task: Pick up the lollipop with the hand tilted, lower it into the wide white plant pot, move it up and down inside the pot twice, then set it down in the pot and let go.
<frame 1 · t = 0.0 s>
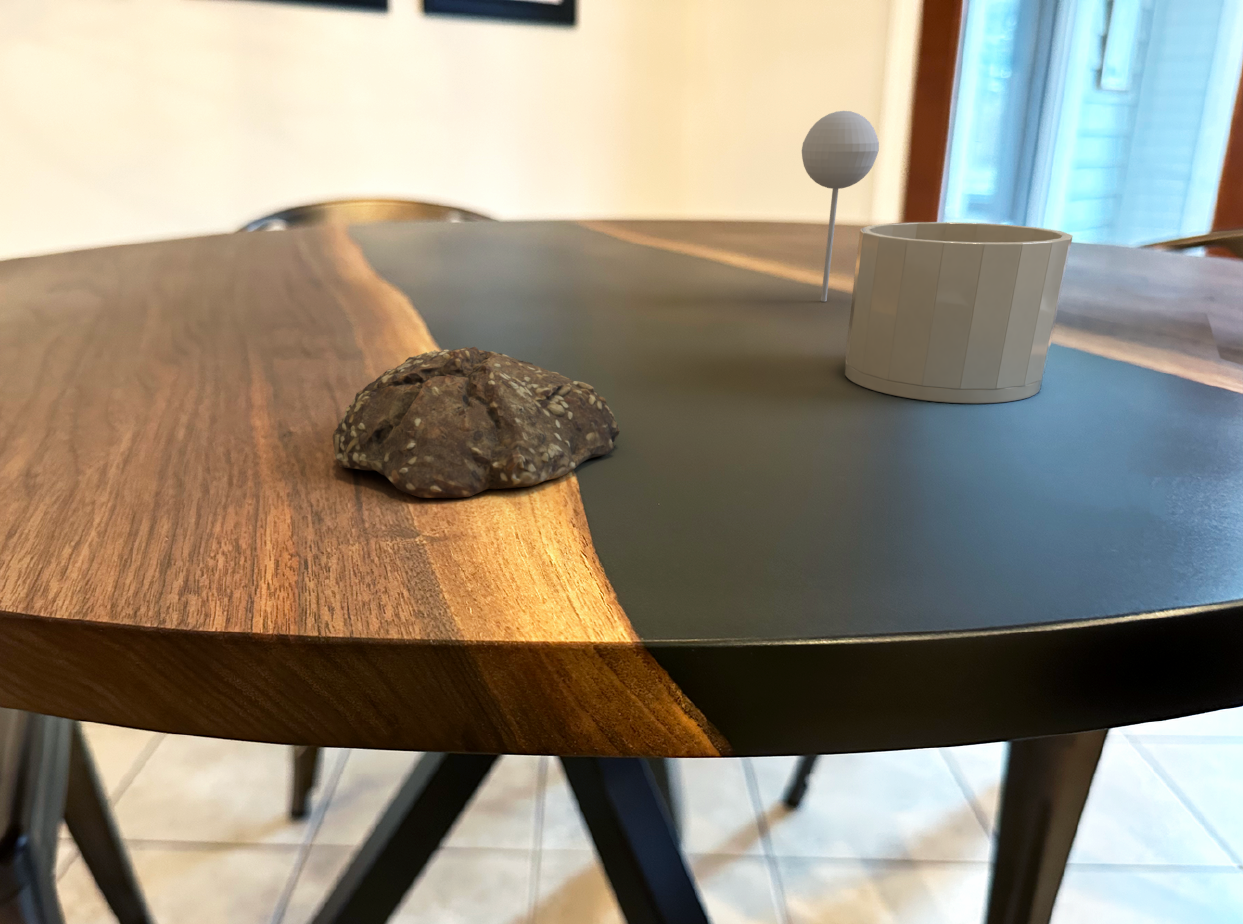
bread roll: (469, 456, 45), on the table
white plant pot: (939, 378, 57), on the table
lollipop: (823, 303, 81), on the table
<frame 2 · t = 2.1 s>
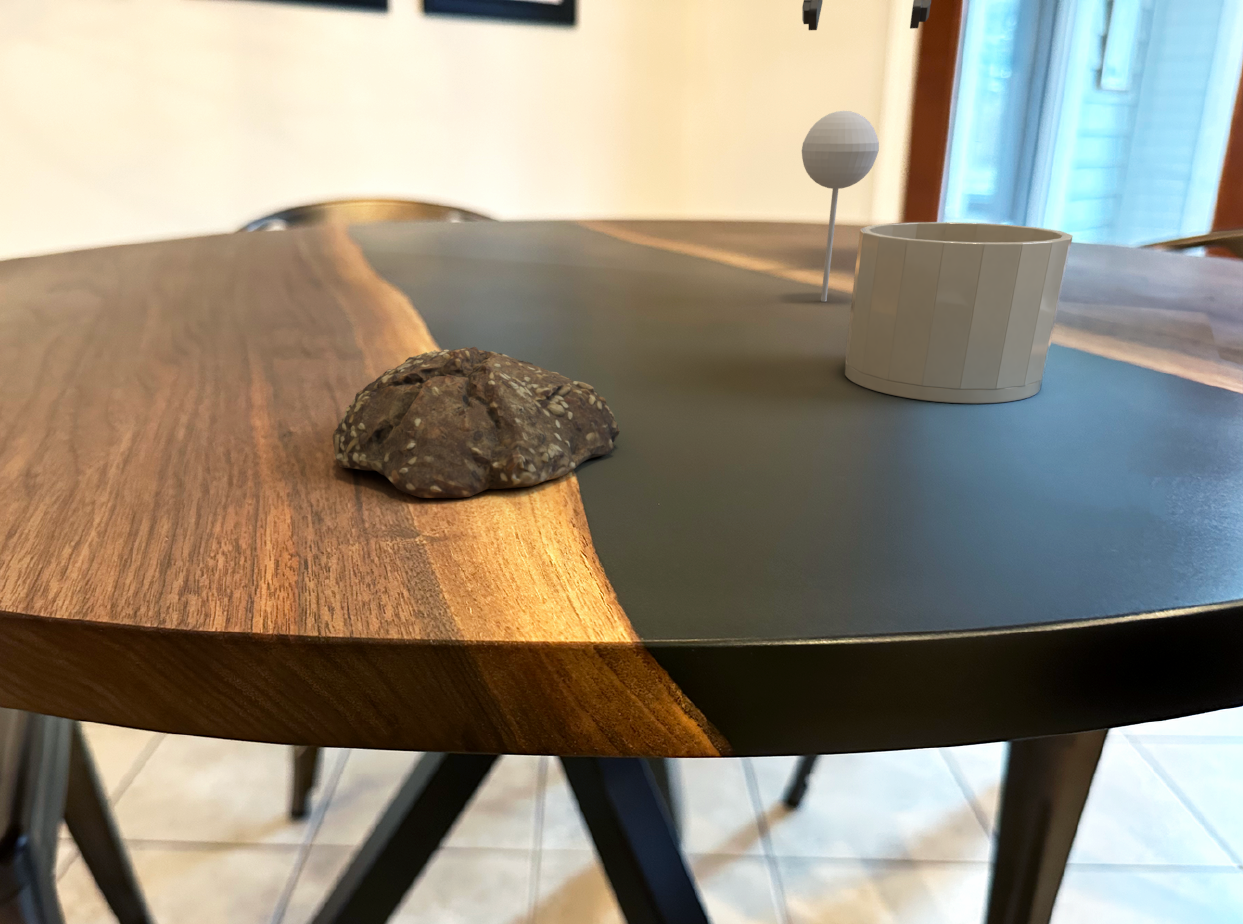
hand: (863, 21, 82), 22 cm above the table, tool tilted 45°, fingers open, 8 cm apart
nothing on the table moved.
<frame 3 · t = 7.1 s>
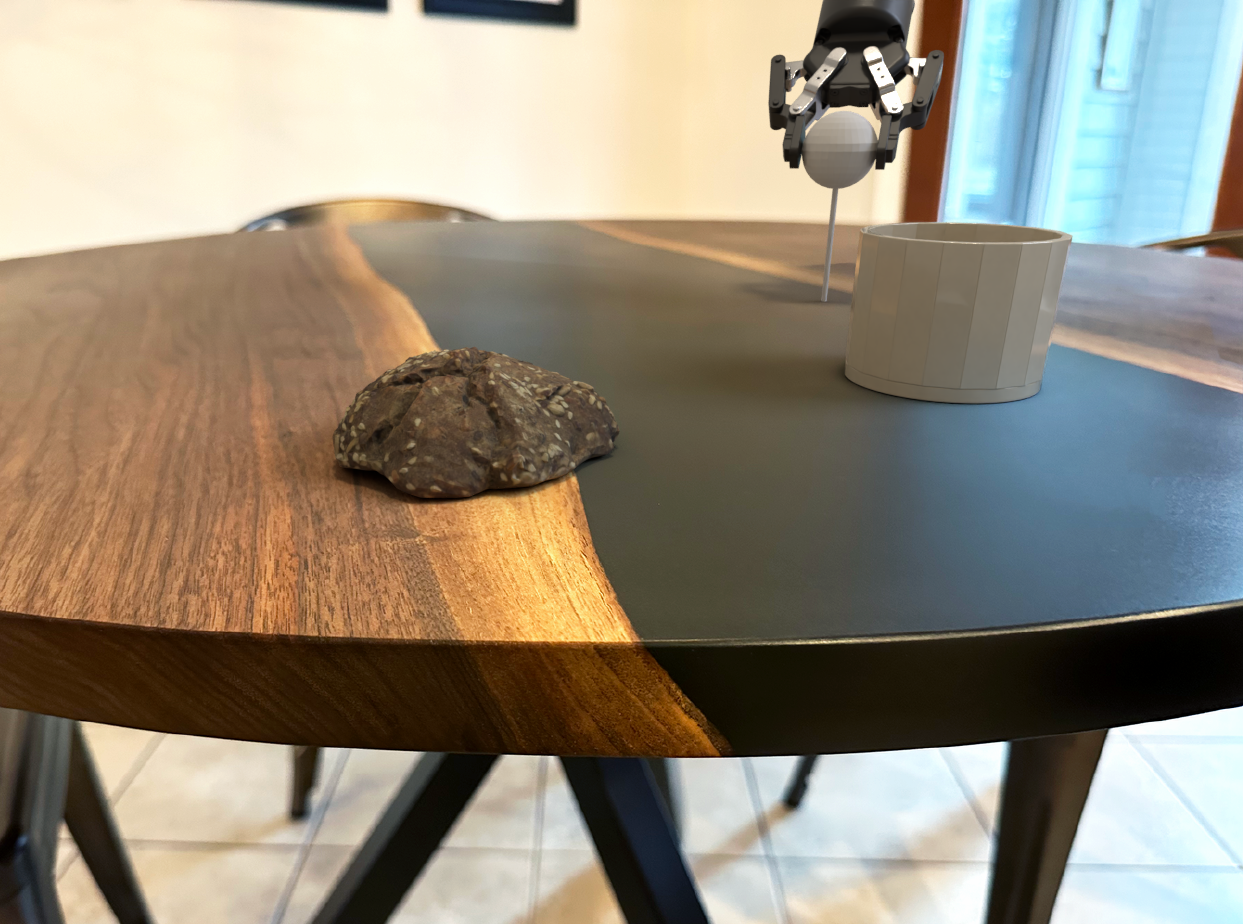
hand: (836, 161, 75), 11 cm above the table, tool tilted 45°, fingers closed on lollipop, 6 cm apart
lollipop: (823, 303, 81), on the table, touching gripper
everything else where it was.
when the fingers open (12 cm above the table, at t = 24.4 s): lollipop stays where it is, resting on white plant pot.
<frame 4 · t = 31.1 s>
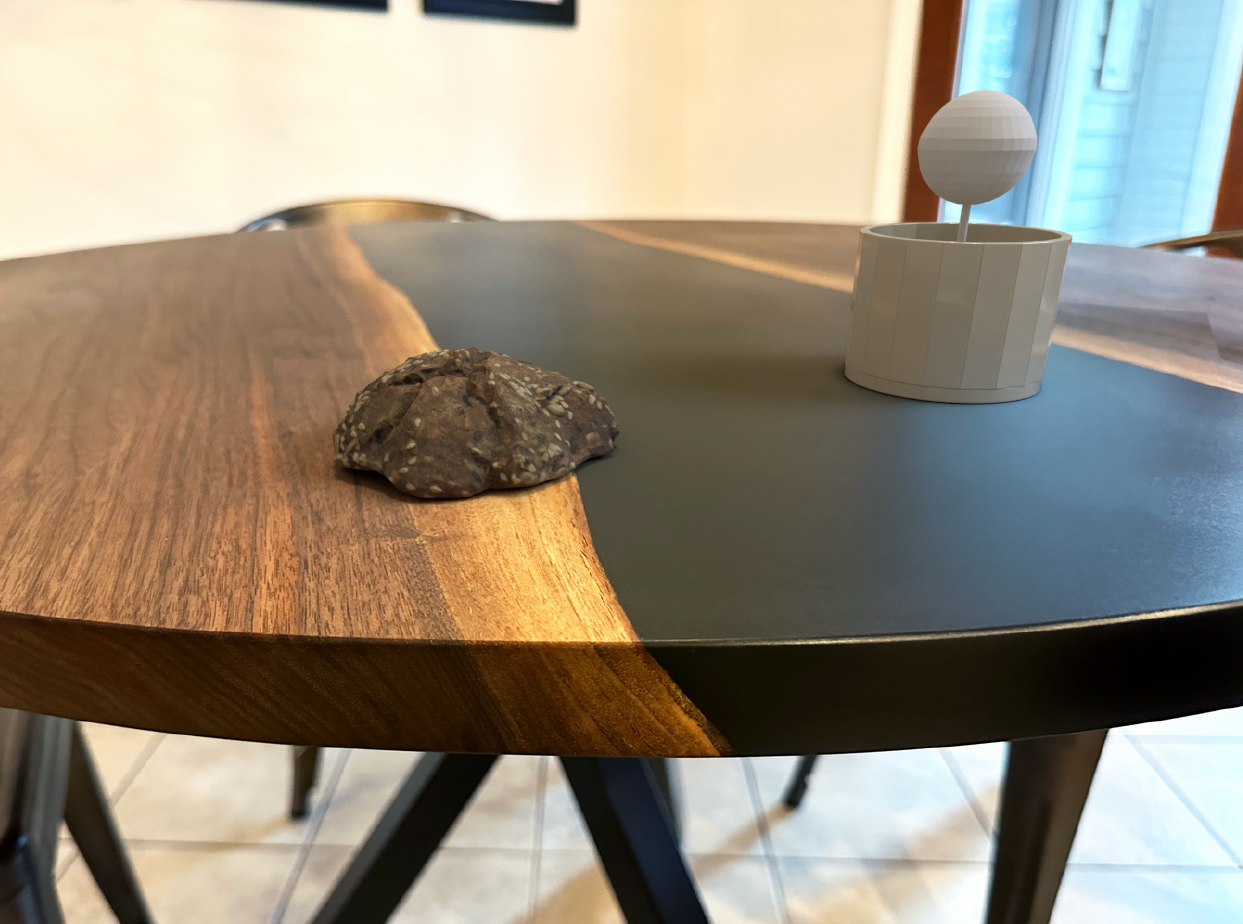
lollipop: (940, 367, 57), point 1 cm above the table, touching white plant pot
everything else where it was.
at the end: lollipop inside the target area in the white plant pot (0.1 cm from its centre), point 0.6 cm above the white plant pot's base; lollipop tilted 0°; the gripper is holding nothing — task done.
